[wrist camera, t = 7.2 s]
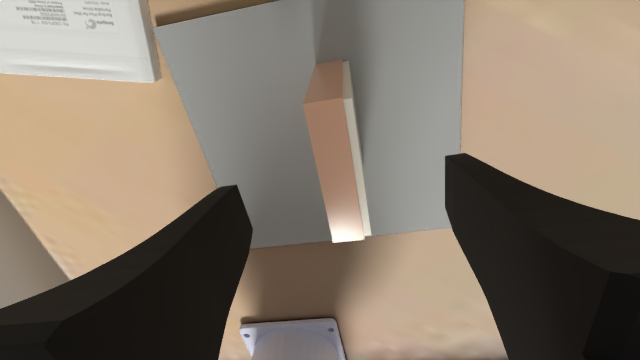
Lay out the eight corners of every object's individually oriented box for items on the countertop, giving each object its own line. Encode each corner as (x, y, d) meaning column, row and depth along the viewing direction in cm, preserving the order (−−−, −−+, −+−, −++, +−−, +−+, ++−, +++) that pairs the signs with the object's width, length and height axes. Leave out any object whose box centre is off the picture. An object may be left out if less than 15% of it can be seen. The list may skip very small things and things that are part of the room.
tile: (363, 167, 19) (371, 238, 14) (335, 171, 19) (333, 243, 14) (348, 57, 16) (351, 96, 10) (315, 64, 16) (302, 104, 11)
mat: (455, 222, 21) (457, 227, 20) (244, 245, 23) (242, 249, 22) (462, -40, 14) (465, -40, 13) (156, 27, 16) (152, 28, 15)
